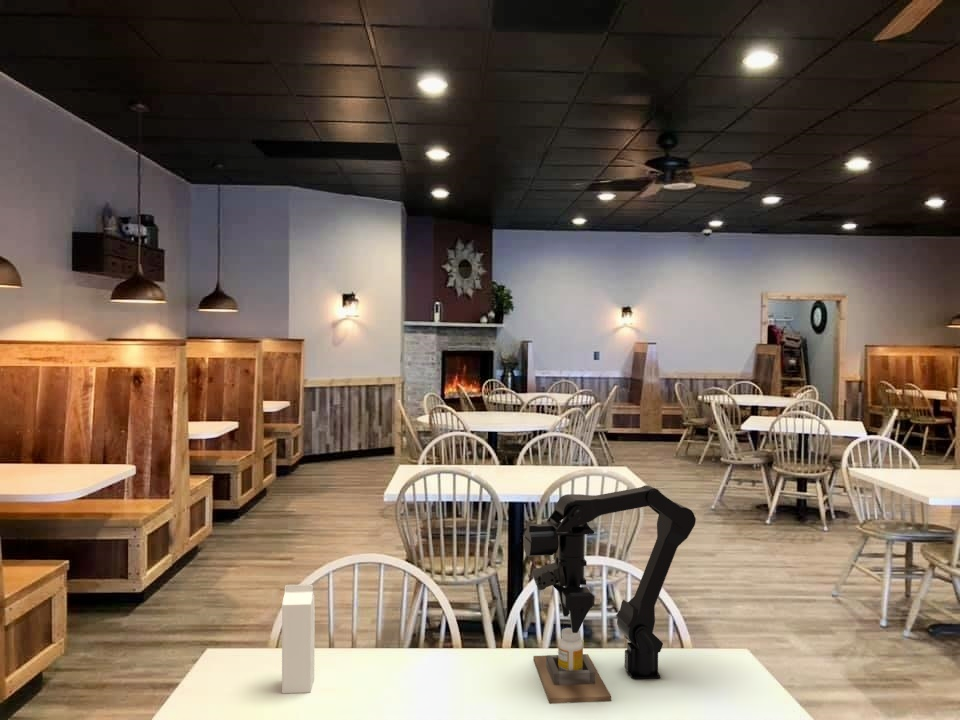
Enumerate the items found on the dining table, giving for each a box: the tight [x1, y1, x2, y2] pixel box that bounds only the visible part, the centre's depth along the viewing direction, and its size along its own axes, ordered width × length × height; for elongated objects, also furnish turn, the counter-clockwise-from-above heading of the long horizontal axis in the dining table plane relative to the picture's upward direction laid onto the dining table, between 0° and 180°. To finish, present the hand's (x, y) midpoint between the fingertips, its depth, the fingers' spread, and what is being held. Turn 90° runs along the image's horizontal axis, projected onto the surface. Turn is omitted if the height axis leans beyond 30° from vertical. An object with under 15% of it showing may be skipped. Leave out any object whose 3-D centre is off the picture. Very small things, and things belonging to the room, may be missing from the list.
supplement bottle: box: [557, 627, 584, 671], centre depth 157 cm, size 5×5×10 cm
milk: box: [281, 584, 316, 694], centre depth 152 cm, size 6×6×22 cm
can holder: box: [532, 653, 612, 704], centre depth 157 cm, size 13×20×4 cm, turn 5°
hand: (570, 624), depth 156 cm, fingers open, 9 cm apart
